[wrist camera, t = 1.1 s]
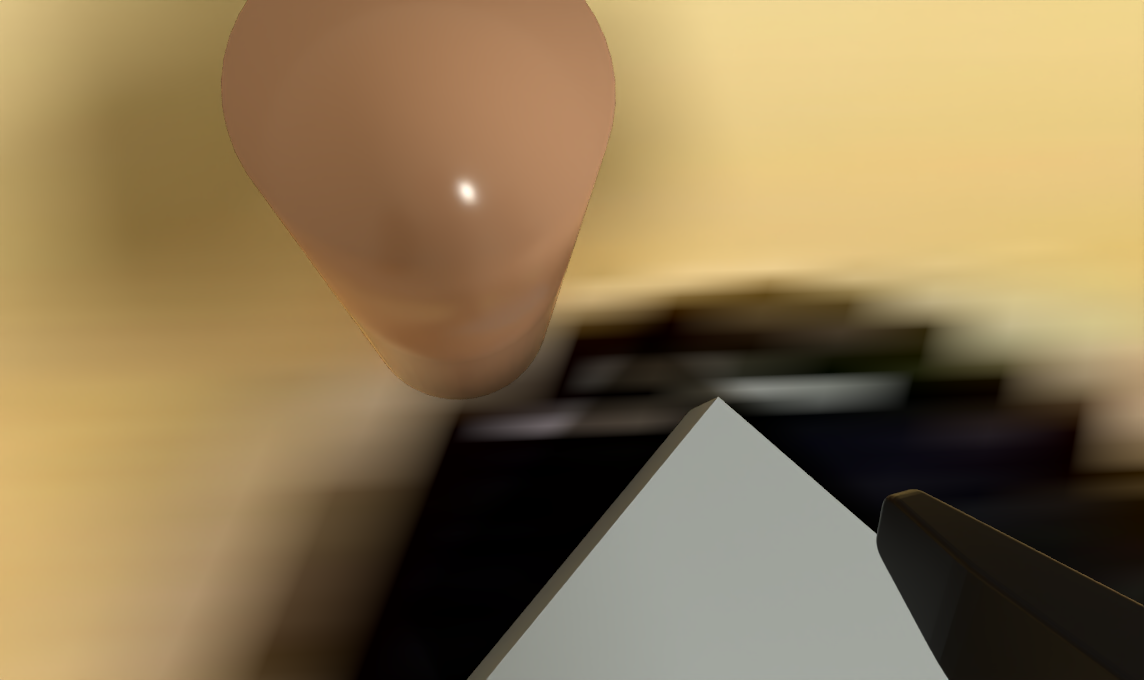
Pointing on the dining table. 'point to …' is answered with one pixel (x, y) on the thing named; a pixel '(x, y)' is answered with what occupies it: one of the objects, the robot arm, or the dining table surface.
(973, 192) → the dining table surface
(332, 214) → the cargo canister
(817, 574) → the block
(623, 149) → the dining table surface
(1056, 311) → the dining table surface
